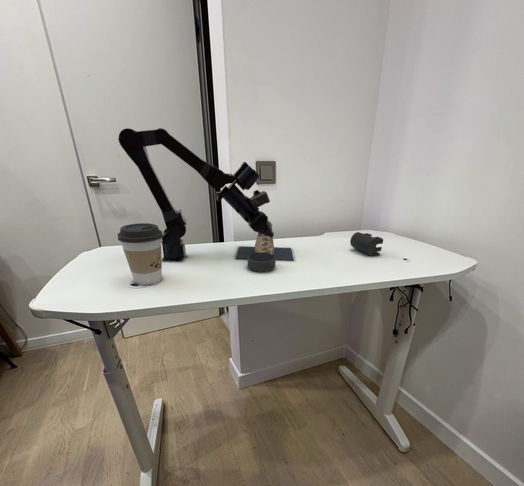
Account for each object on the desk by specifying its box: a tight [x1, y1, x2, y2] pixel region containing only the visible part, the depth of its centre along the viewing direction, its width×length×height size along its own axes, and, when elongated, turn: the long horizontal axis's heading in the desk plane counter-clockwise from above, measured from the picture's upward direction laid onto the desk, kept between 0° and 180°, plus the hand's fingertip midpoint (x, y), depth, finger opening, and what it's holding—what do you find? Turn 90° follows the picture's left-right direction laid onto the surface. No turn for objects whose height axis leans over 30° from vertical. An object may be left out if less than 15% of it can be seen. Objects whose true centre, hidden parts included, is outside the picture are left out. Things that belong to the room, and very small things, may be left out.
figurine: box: [254, 219, 275, 255], centre depth 103 cm, size 7×7×12 cm
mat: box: [235, 245, 295, 262], centre depth 106 cm, size 20×14×1 cm
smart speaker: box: [247, 253, 277, 273], centre depth 92 cm, size 9×9×4 cm
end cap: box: [349, 231, 384, 257], centre depth 109 cm, size 10×7×7 cm
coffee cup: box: [117, 222, 163, 286], centre depth 79 cm, size 11×11×15 cm
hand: (269, 233), depth 103 cm, fingers open, 9 cm apart
